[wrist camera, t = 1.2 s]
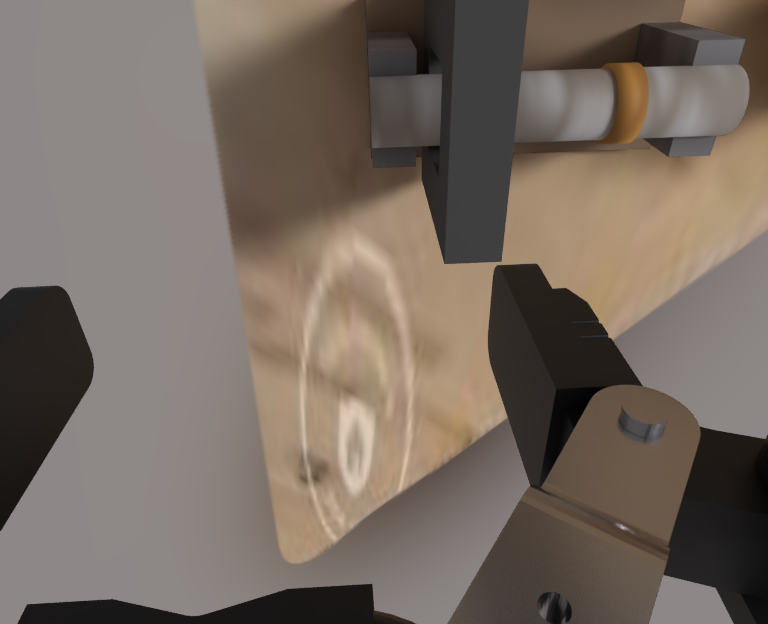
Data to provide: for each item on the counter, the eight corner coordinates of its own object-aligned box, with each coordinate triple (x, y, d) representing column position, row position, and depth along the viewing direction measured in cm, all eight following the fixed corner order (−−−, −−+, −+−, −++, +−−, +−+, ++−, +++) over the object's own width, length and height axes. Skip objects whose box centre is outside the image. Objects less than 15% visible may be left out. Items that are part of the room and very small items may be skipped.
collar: (424, -27, 26) (456, -11, 18) (475, -29, 26) (530, -13, 18) (421, 178, 32) (444, 263, 23) (463, 177, 32) (501, 261, 24)
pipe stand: (365, -4, 28) (368, 15, 21) (676, -14, 29) (784, 2, 21) (371, 151, 33) (375, 212, 26) (640, 142, 33) (719, 199, 26)
